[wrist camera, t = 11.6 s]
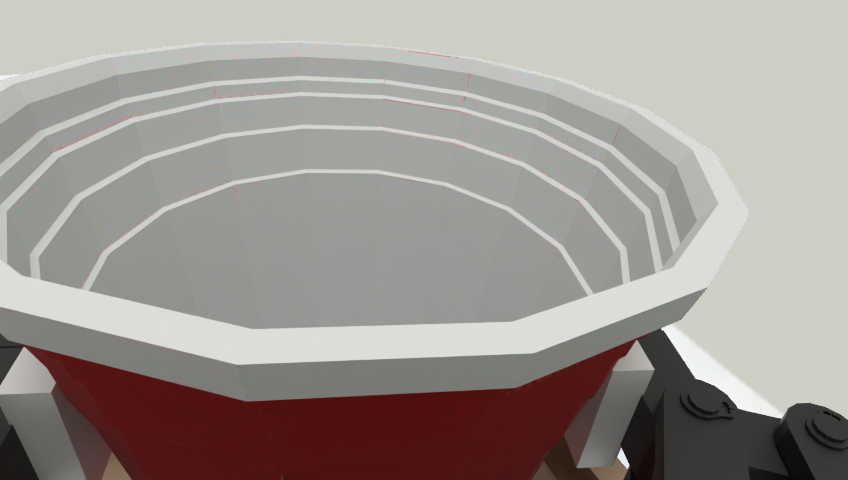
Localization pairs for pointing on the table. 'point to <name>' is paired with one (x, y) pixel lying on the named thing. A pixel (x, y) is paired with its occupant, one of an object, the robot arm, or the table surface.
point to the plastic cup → (341, 254)
